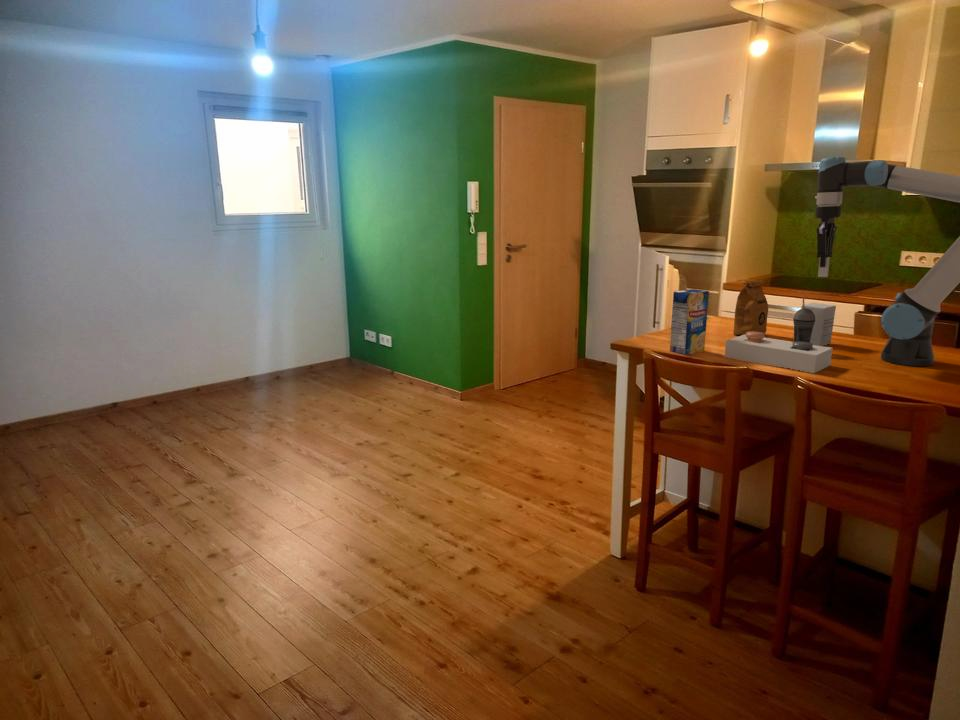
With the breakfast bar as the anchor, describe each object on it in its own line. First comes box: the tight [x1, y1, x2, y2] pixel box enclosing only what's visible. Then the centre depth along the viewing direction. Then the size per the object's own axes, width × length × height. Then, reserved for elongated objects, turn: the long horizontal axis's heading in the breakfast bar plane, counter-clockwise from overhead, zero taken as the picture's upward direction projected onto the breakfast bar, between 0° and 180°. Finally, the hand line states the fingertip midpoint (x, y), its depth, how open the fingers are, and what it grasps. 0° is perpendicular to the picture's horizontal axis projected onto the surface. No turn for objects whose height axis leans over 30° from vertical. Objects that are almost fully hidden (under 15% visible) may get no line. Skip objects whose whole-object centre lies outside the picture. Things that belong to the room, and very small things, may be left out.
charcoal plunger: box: [792, 341, 813, 351], centre depth 215 cm, size 6×6×6 cm
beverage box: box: [669, 288, 710, 356], centre depth 234 cm, size 7×11×22 cm, turn 124°
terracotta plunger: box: [746, 331, 766, 343], centre depth 226 cm, size 6×6×6 cm
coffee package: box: [733, 279, 769, 336], centre depth 259 cm, size 10×12×22 cm
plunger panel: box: [724, 334, 833, 374], centre depth 221 cm, size 30×14×6 cm, turn 43°
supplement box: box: [800, 302, 837, 347], centre depth 245 cm, size 9×9×15 cm
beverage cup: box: [792, 295, 816, 343], centre depth 233 cm, size 7×7×20 cm
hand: (822, 276), depth 221 cm, fingers closed
